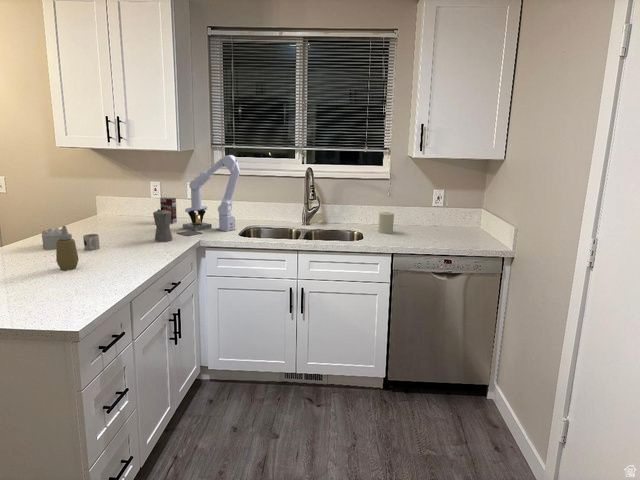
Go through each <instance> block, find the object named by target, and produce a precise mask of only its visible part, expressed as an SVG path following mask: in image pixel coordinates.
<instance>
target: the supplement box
mask: <svg viewBox="0 0 640 480" xmlns="http://www.w3.org/2000/svg"><path fill="white" fill-rule="evenodd" d="M159 201H160V207H164V208H163V210H165V211H170V212H171V221H170V225H171V224H173V225H174V224H177V222H178V219H177V218H178V217H177V198H175V197H164V196H163V197H160V198H159Z"/></svg>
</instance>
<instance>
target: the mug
mask: <svg viewBox="0 0 640 480" xmlns="http://www.w3.org/2000/svg"><path fill="white" fill-rule="evenodd" d="M82 238H83V247H84V251H98V250H99V249H100V248H101V247H100V239H99V238H100V235H99V234H96V233H88V234H83V237H82Z"/></svg>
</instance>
